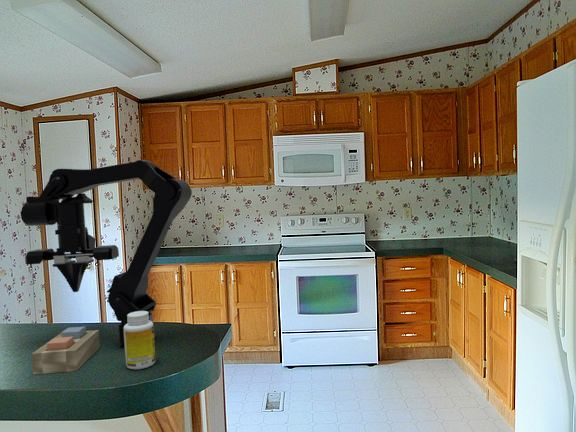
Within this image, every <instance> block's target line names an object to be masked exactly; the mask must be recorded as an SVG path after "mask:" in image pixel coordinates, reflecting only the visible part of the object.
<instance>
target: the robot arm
mask: <svg viewBox="0 0 576 432" xmlns="http://www.w3.org/2000/svg"><path fill="white" fill-rule="evenodd" d="M134 180H135V181H136V180H140V181H142V183H143V184H144V185H145V186H146V187H147V189H149V190H150V191H151V192H152V193H154V195H153V200H152V214H151V217H150V220H149V222H148V224H147V226H146V229H145V231H144V233H143V235H142V238H141V239H140V242H139V244H138V247H137V249H136V250H135V253H134V255H133V258H132V260H131V262H130V264H129V267H128V269H127V271H124V272H122V273H119V274H116V275H114V277H113V279H112V282H111V285H110V287H109V289H107V290H106V293H108V295H107V296H108V297H107V303H108V304H109V306H110V308H111V309H112V310H113V314H114V315H115V317H116V319H117V322H120V323H119V325H118V333H119V343H120V345H119V348H121V349H122V348H125V345H124V326H125V325H126V324H127V315H128V314H129V313H132V312H136V311H147V312H148V314H149V320H150V321H152V322H153V312H154V311H155V308H156V305H157V302H156V301H155V299H153V298H152V297H151V295H149V294H148V293H147V290H148V289H149V288H148V287H149V274H150V272H151V269H152V267H153V265H154V262H156V259H157V257H158V254H159V251H160V250H161V247H162V245H163V243H164V241H165V239H166V236H167V233H168V231H169V230H170V228H171V226H172V223H173V221H174V220H175V218H177V216H178V215H179V214H180V213H181V212H182V211H183V209H184V208H185V206H186V205H187V204H188V202H189V201H190V199H191V197H192V194H193V191H192V188H191V185H190V184H189V183H188V182H187V181H185V180H182V179H177V178H176V177H174V176H173V175H171V174H170V173H168V172H166V171H164V170H163V169H161V168H160V167H159V166H157V165H156V164H155V163H154V162H152V161H150V160H145V159H138V160H135V161H132V162H124V163H120V164H119V163H118V164H114V165H108V166H103V167H97V168H96V167H95V168H90V169H88V168H87V169H83V168H82V169H81V168H80V169H79V168H57V169H54V170H53V171H51V174H50V176H49V179H48V181H47V184H46V185H45V187H44V189H43V190H42V192H41V194H40V195H39V196H26V199H25V200H26V202H24V204H22V207H21V210H20V218H21V221H22V222H23V223H24V225H26V226H29V227H34V226H35V227H36V226H37V227H38V226H53V225H56V227H57V228H56V229H55V230H54V233H55V234H54V235H57V242H58V247H57V248H55V249H56V251H55V250H54V248H38V249H34V250H29V251H27V252H26V254H25V257H24V261H25V265H28V266H29V265H40V264H42V262H44V261H52V260H53V264H52V268H57V269H58V270H59V272H60V273H61V274H62V276H63V277H64V279H65V280H66V282H67V284H68V285H69V287H70V288H71V289H70V290H72V292H73V293H78V292H80V288H81V286H82V285H81V284H82V281H83V277H84V274H85V272H86V270H87V268H88V266H89V264H92V263H94V261H95V260H96V261H109V260H114V259H116V258H119V257H120V254H119V253H120V252H119V247H118V246H117V245H116V244H112V245H111V244H109V245H100V246H96V238H95V237H94V236H92V235H90V234H89V230H88V227H86V217H85V205H84V204H92V203H94V201H93V200H92V199H91V198H90V197H88V195H86V192H88V191H91V190H93V189H94V188H97V187H100V186H104V185H111V184H118V183H123V182H130V181H134ZM75 195H76V196H75ZM60 200H61V201H60ZM72 259H73V260H72ZM153 323H154V322H153ZM156 337H157V336H156V334H154V339H155V338H156Z"/></svg>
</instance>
